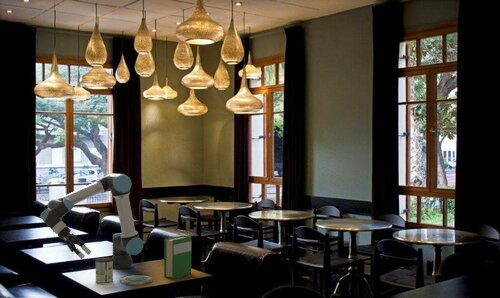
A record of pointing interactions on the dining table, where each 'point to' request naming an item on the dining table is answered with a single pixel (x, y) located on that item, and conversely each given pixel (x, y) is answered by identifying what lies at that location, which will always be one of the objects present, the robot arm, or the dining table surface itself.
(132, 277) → the hub plate
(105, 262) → the coffee can
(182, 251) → the hardback book
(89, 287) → the dining table surface
